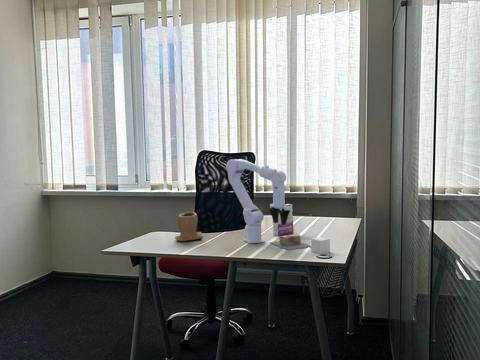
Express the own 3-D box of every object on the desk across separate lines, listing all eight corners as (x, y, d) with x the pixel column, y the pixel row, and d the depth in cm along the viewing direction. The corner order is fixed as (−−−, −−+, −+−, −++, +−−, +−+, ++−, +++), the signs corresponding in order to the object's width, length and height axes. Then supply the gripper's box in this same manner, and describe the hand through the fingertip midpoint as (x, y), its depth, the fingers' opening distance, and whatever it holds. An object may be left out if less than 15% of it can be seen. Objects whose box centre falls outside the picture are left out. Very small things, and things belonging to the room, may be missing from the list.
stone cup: (181, 244, 232) (180, 214, 231) (173, 240, 242) (172, 212, 241) (208, 240, 239) (207, 212, 238) (199, 237, 249) (198, 209, 248)
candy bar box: (287, 232, 256) (287, 203, 255) (293, 233, 252) (293, 204, 251) (272, 235, 249) (271, 205, 248) (278, 236, 245) (277, 206, 244)
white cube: (311, 251, 208) (310, 238, 208) (320, 249, 212) (320, 237, 211) (321, 254, 203) (320, 240, 203) (330, 251, 207) (329, 238, 206)
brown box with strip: (294, 242, 227) (294, 233, 227) (300, 243, 223) (300, 235, 223) (279, 244, 223) (279, 235, 222) (285, 246, 219) (284, 237, 218)
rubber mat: (269, 243, 228) (269, 242, 228) (293, 240, 234) (293, 239, 234) (286, 250, 212) (286, 249, 212) (312, 247, 217) (312, 245, 217)
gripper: (264, 195, 228) (265, 222, 229) (279, 197, 215) (280, 226, 216) (276, 194, 231) (277, 221, 232) (292, 196, 218) (293, 224, 219)
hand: (279, 223), depth 224 cm, fingers open, 7 cm apart
